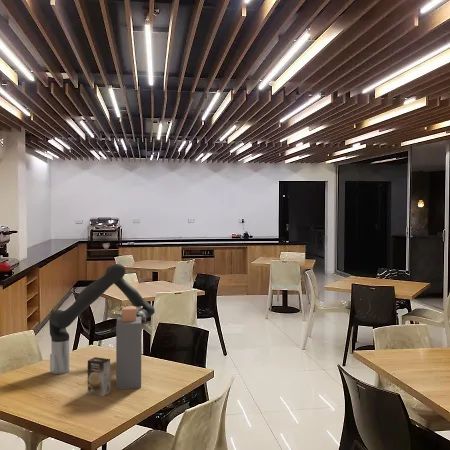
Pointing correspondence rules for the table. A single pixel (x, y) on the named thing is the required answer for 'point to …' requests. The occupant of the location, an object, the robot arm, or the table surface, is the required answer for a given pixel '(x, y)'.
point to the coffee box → (98, 376)
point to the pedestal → (128, 354)
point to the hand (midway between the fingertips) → (128, 324)
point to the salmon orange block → (129, 313)
